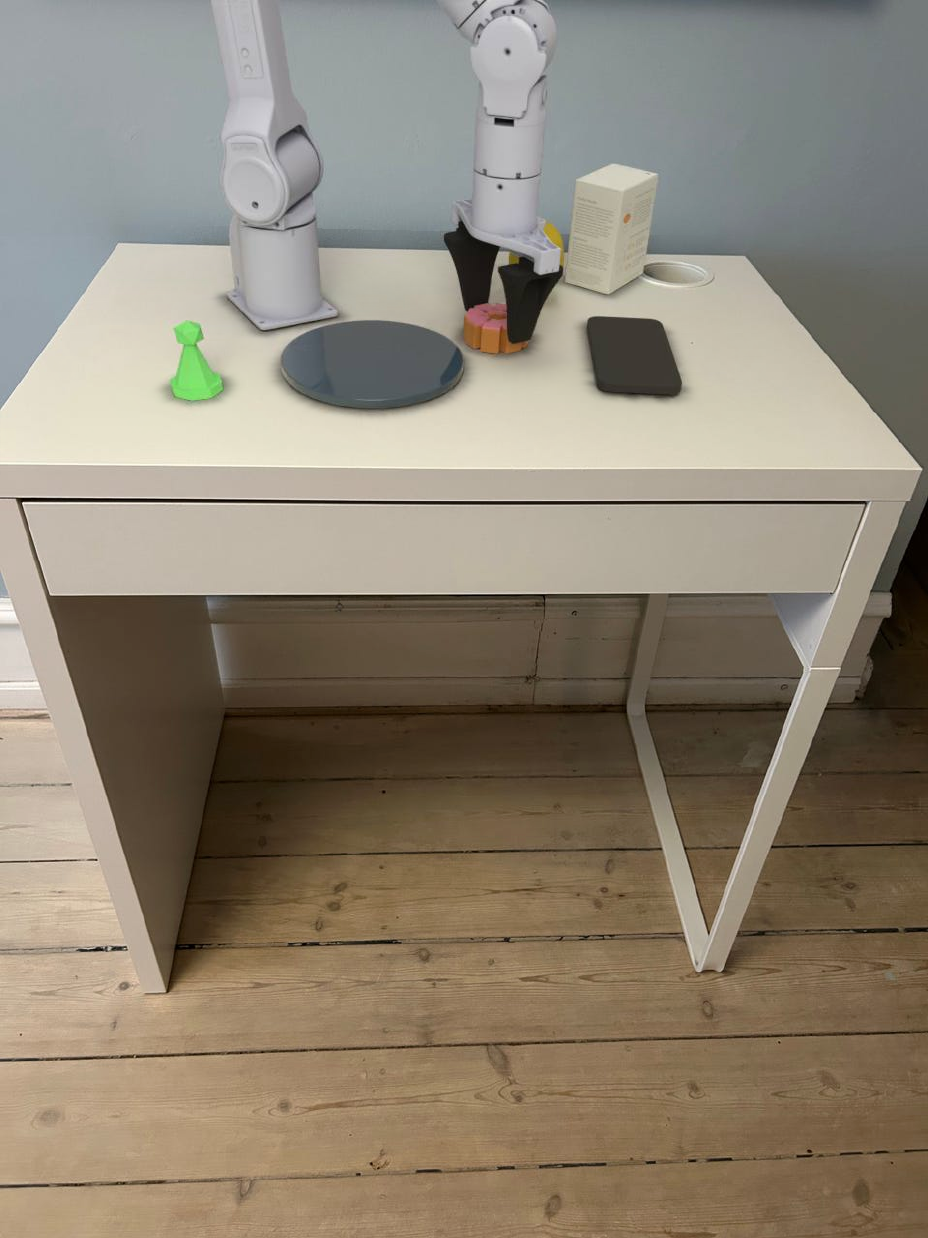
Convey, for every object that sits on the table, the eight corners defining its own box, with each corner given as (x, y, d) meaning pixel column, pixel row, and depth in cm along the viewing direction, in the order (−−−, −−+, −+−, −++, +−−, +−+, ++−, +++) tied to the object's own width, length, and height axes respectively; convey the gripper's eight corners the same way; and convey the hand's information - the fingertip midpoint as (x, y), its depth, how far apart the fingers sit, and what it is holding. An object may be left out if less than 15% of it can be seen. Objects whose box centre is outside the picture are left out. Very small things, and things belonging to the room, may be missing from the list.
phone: (661, 318, 93) (685, 388, 82) (660, 326, 94) (683, 396, 82) (586, 315, 93) (598, 383, 82) (585, 323, 94) (597, 392, 82)
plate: (253, 349, 86) (252, 339, 86) (408, 318, 93) (408, 308, 92) (329, 427, 76) (328, 416, 75) (497, 385, 83) (498, 375, 82)
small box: (599, 262, 107) (612, 161, 100) (644, 274, 104) (660, 172, 98) (562, 282, 102) (573, 177, 95) (608, 296, 99) (623, 189, 93)
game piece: (228, 378, 82) (219, 310, 78) (217, 401, 79) (208, 332, 75) (177, 376, 82) (166, 308, 78) (165, 399, 79) (152, 330, 75)
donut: (452, 333, 91) (453, 309, 89) (505, 322, 93) (507, 298, 92) (486, 358, 87) (487, 333, 85) (540, 346, 89) (542, 321, 88)
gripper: (597, 187, 77) (577, 346, 86) (500, 143, 87) (491, 290, 95) (525, 198, 74) (512, 361, 83) (432, 151, 84) (430, 302, 92)
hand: (497, 324), depth 89 cm, fingers open, 7 cm apart
